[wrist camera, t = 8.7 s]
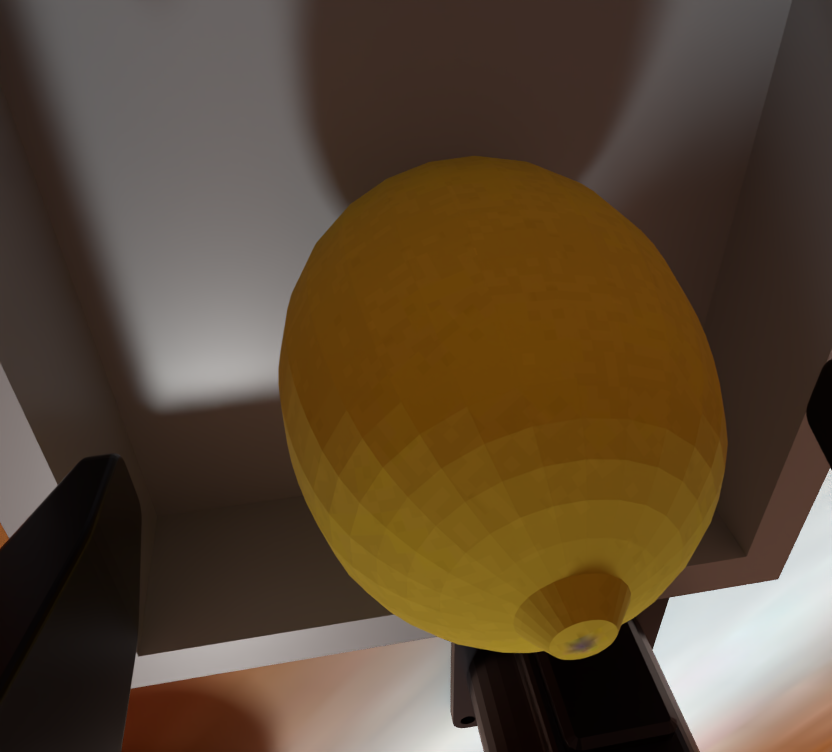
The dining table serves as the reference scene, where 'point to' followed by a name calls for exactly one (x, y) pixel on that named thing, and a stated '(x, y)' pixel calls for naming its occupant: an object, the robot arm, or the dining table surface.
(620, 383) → the lemon
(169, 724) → the dining table surface
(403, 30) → the bin
